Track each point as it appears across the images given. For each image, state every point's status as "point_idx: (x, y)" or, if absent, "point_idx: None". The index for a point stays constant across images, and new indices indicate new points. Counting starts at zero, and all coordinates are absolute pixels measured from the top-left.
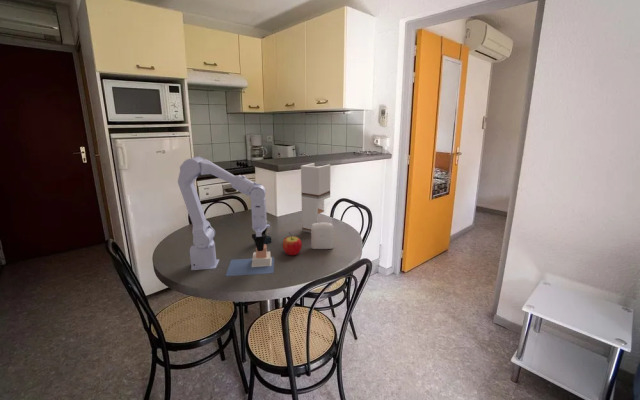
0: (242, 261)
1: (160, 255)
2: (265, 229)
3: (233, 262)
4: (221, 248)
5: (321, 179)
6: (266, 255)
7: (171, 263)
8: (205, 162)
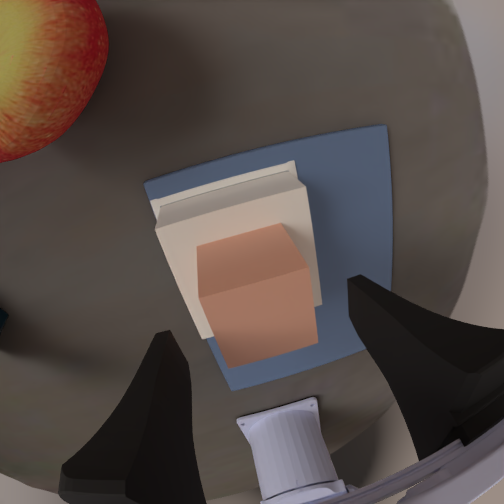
0: None
1: (227, 494)
2: (146, 467)
3: (259, 373)
4: None
5: None
6: (263, 231)
7: None
8: None
